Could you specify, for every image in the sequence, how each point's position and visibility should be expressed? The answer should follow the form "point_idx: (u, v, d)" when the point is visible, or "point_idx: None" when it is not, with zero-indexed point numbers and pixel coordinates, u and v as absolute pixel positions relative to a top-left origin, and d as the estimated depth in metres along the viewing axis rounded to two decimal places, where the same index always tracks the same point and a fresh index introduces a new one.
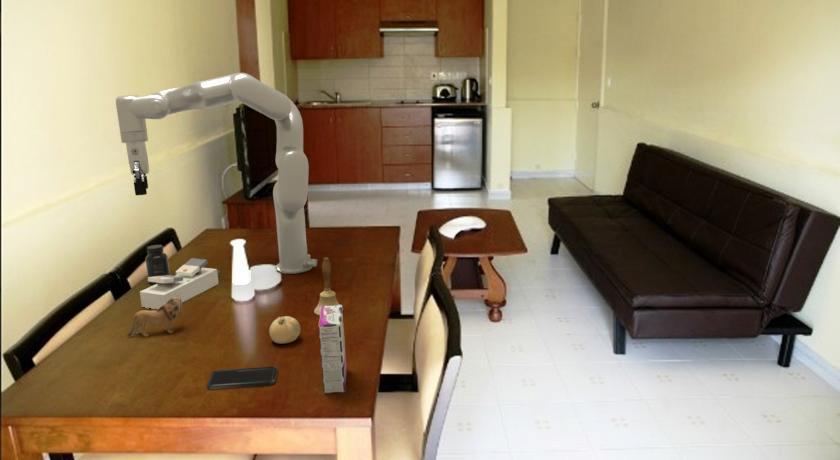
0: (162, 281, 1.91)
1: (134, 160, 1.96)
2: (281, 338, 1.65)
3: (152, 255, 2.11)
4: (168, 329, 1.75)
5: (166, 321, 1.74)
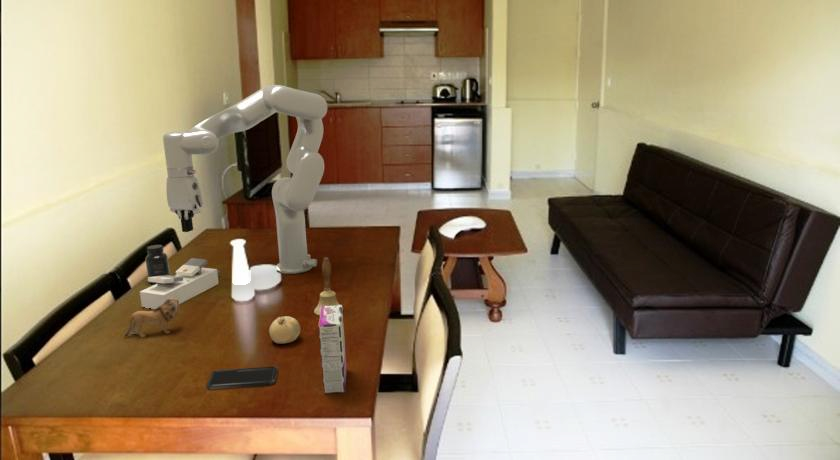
0: (162, 281, 1.91)
1: (195, 198, 1.98)
2: (281, 338, 1.65)
3: (152, 255, 2.11)
4: (165, 330, 1.75)
5: (163, 322, 1.74)
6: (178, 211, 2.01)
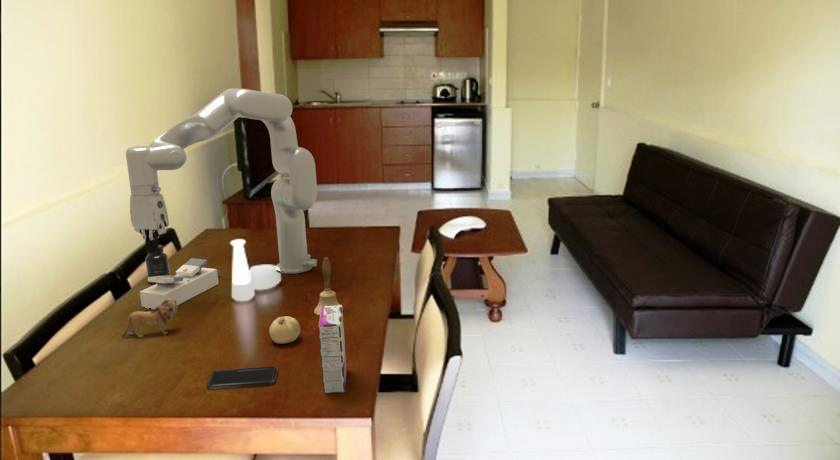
0: (162, 281, 1.91)
1: (160, 218, 1.85)
2: (281, 338, 1.65)
3: (152, 255, 2.11)
4: (162, 330, 1.75)
5: (160, 322, 1.74)
6: (142, 231, 1.88)
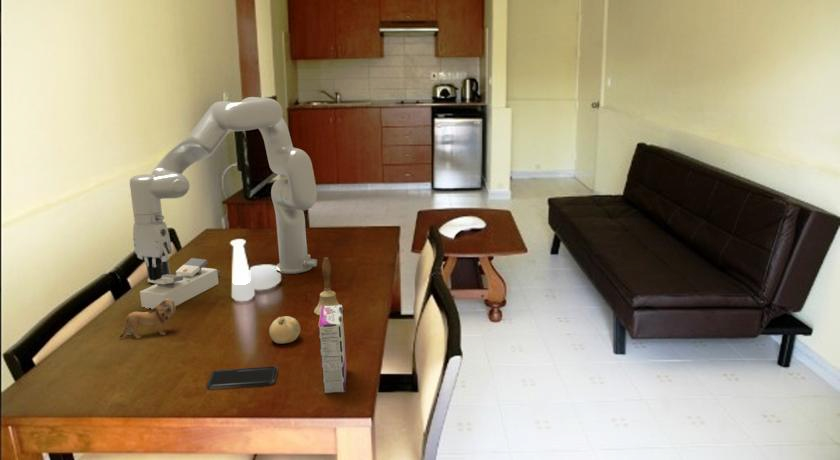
0: (162, 282, 1.91)
1: (163, 245, 1.87)
2: (281, 338, 1.65)
3: None
4: (160, 331, 1.74)
5: (158, 323, 1.73)
6: (145, 258, 1.90)
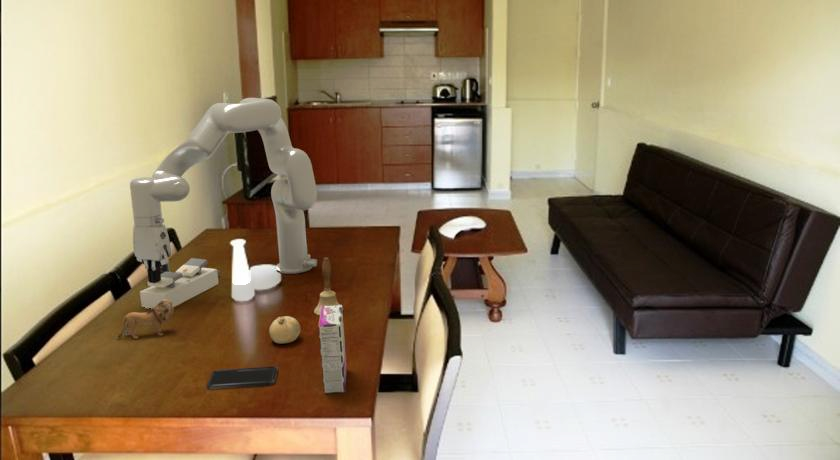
0: (162, 285, 1.91)
1: (162, 248, 1.87)
2: (281, 338, 1.65)
3: None
4: (158, 332, 1.74)
5: (156, 323, 1.73)
6: (145, 261, 1.90)
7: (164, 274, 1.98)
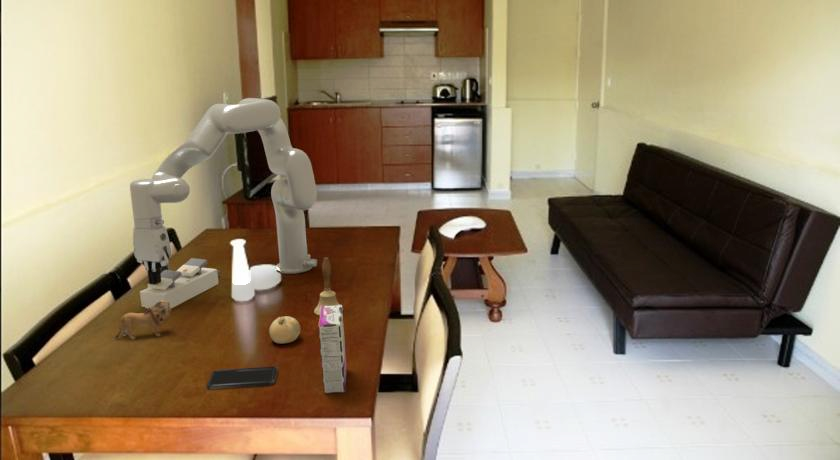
0: (162, 288, 1.91)
1: (163, 250, 1.87)
2: (281, 338, 1.65)
3: None
4: (155, 332, 1.73)
5: (153, 324, 1.73)
6: (145, 262, 1.90)
7: (163, 273, 1.97)
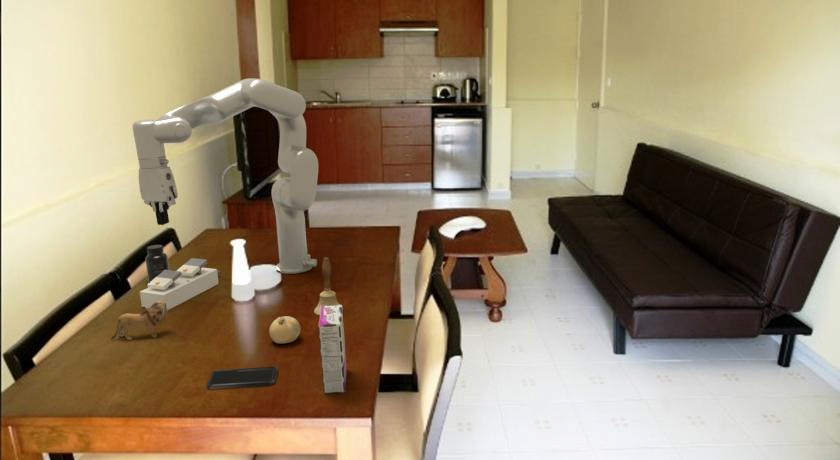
0: (162, 288, 1.91)
1: (169, 189, 1.89)
2: (281, 338, 1.65)
3: (152, 255, 2.11)
4: (152, 333, 1.73)
5: (149, 325, 1.72)
6: (152, 203, 1.92)
7: (163, 273, 1.97)
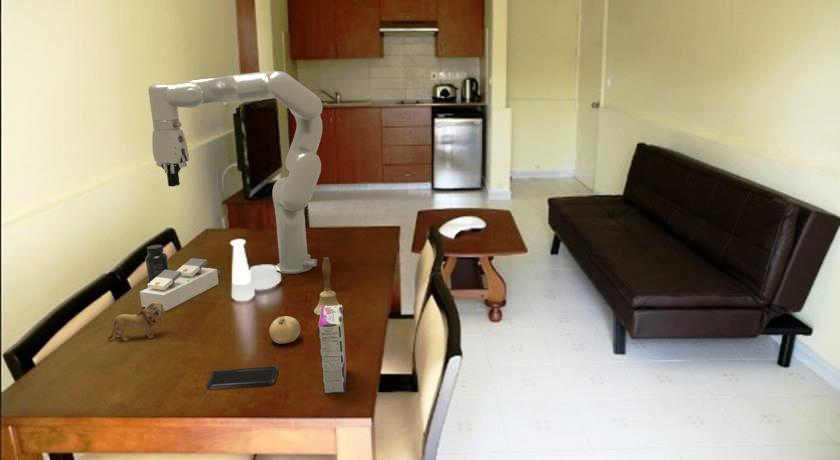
0: (162, 288, 1.91)
1: (181, 152, 1.97)
2: (281, 338, 1.65)
3: (152, 255, 2.11)
4: (148, 334, 1.72)
5: (146, 326, 1.72)
6: (164, 165, 1.99)
7: (163, 273, 1.97)
